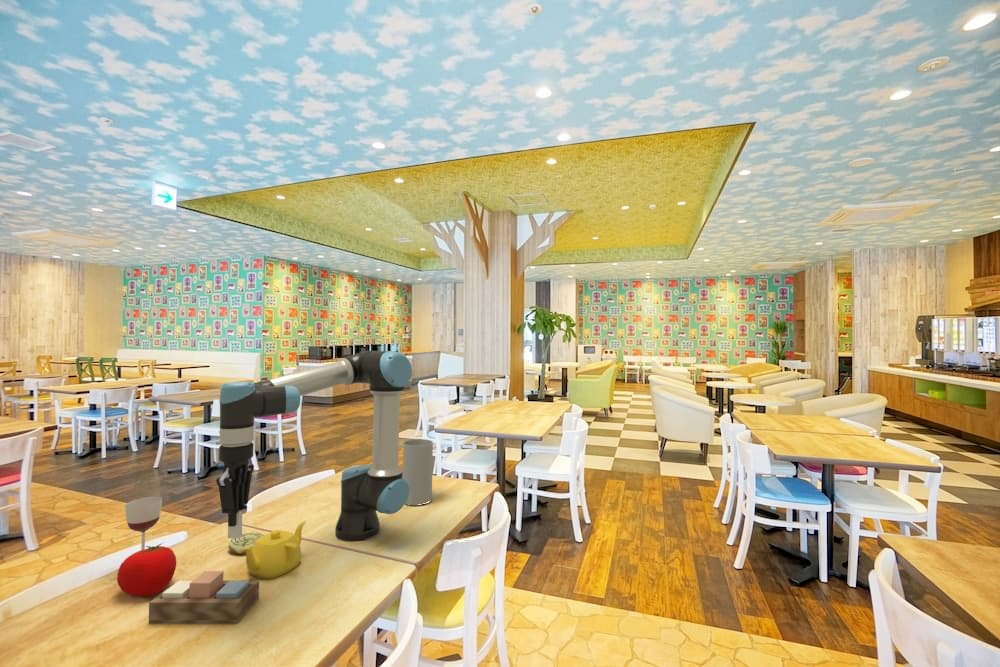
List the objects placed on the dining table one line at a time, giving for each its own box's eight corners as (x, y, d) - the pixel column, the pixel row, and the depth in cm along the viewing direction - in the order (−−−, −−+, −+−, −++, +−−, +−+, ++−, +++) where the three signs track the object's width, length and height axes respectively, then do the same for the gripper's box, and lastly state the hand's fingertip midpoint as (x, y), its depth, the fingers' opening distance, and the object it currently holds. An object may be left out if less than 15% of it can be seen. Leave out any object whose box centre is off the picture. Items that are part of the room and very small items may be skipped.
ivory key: (197, 600, 116) (197, 580, 116) (181, 613, 110) (182, 593, 110) (178, 600, 116) (178, 580, 116) (161, 613, 110) (162, 593, 110)
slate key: (248, 600, 116) (248, 580, 116) (235, 614, 110) (236, 593, 110) (229, 600, 116) (230, 580, 116) (215, 614, 110) (216, 593, 110)
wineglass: (167, 565, 135) (168, 498, 135) (135, 579, 127) (137, 508, 127) (148, 560, 138) (150, 495, 138) (116, 574, 129) (118, 504, 130)
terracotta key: (223, 590, 116) (223, 571, 116) (209, 603, 110) (209, 583, 110) (204, 590, 116) (204, 571, 116) (189, 603, 110) (189, 583, 110)
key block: (258, 599, 118) (259, 580, 118) (237, 623, 108) (237, 602, 108) (177, 599, 118) (178, 580, 118) (148, 623, 108) (149, 602, 108)
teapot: (262, 594, 121) (263, 553, 121) (225, 580, 127) (225, 542, 127) (325, 558, 141) (326, 523, 141) (290, 548, 147) (291, 515, 147)
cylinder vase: (429, 506, 185) (430, 446, 186) (398, 506, 185) (400, 445, 186) (434, 496, 198) (434, 439, 198) (405, 495, 198) (406, 438, 198)
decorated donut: (238, 560, 139) (238, 548, 139) (222, 550, 145) (222, 538, 145) (271, 547, 148) (271, 536, 148) (255, 539, 154) (255, 527, 154)
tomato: (130, 611, 112) (132, 564, 113) (109, 593, 120) (110, 550, 120) (186, 588, 123) (187, 546, 123) (163, 573, 130) (164, 534, 130)
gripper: (236, 437, 120) (234, 526, 120) (205, 449, 107) (203, 549, 107) (264, 437, 120) (262, 526, 120) (237, 449, 107) (235, 549, 107)
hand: (234, 537), depth 113 cm, fingers closed
